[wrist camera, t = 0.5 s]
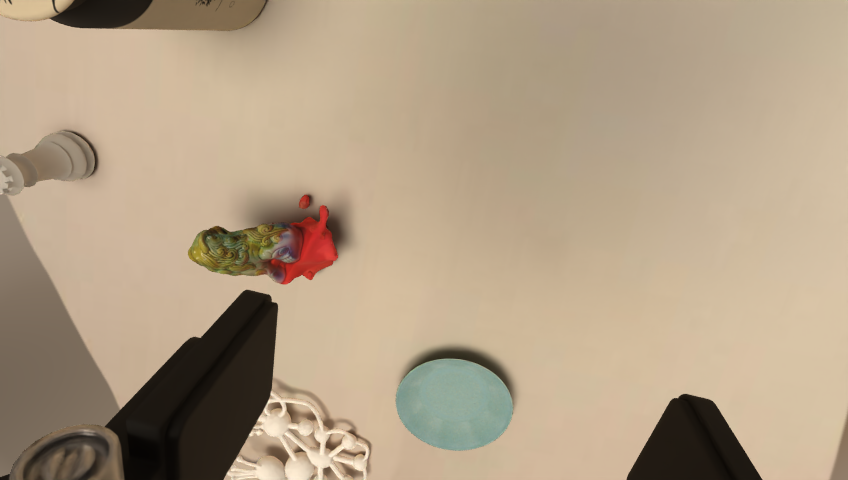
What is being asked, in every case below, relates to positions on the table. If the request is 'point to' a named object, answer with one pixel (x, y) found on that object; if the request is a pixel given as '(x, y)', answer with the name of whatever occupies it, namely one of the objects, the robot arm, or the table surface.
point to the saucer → (454, 404)
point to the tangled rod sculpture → (301, 462)
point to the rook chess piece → (47, 163)
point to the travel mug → (137, 13)
